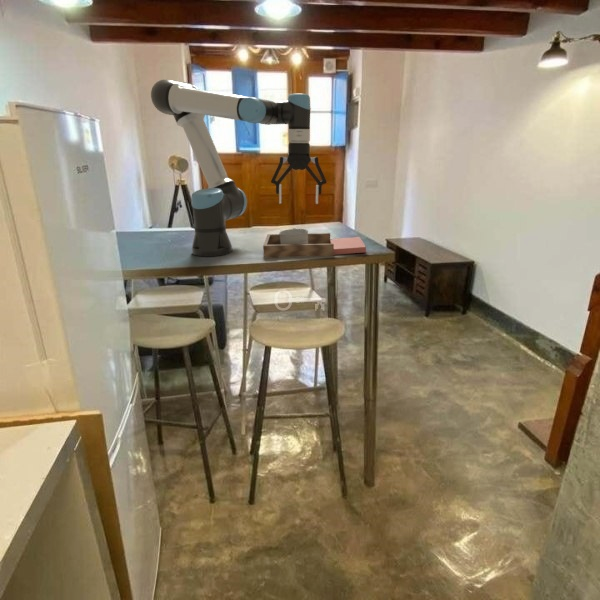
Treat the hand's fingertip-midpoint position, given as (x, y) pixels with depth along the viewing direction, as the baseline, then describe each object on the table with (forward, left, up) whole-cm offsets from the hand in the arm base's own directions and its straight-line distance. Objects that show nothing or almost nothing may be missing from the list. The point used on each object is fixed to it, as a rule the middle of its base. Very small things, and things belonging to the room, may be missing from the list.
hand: (298, 203), depth 156 cm
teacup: (-2, 0, -18) cm, 18 cm away
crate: (0, 0, -18) cm, 18 cm away
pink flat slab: (+12, 0, -18) cm, 22 cm away
